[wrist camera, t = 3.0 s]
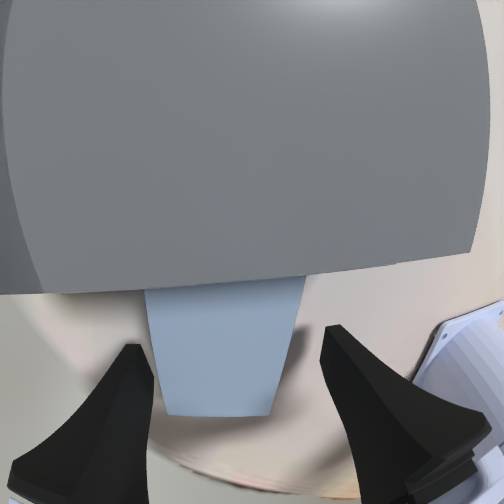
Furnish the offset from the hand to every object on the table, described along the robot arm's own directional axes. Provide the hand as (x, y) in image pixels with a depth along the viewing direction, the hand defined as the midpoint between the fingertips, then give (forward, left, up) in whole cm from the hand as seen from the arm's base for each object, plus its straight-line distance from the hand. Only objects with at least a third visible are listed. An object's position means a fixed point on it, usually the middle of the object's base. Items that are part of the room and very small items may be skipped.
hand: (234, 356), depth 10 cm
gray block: (+10, 0, -2) cm, 10 cm away
